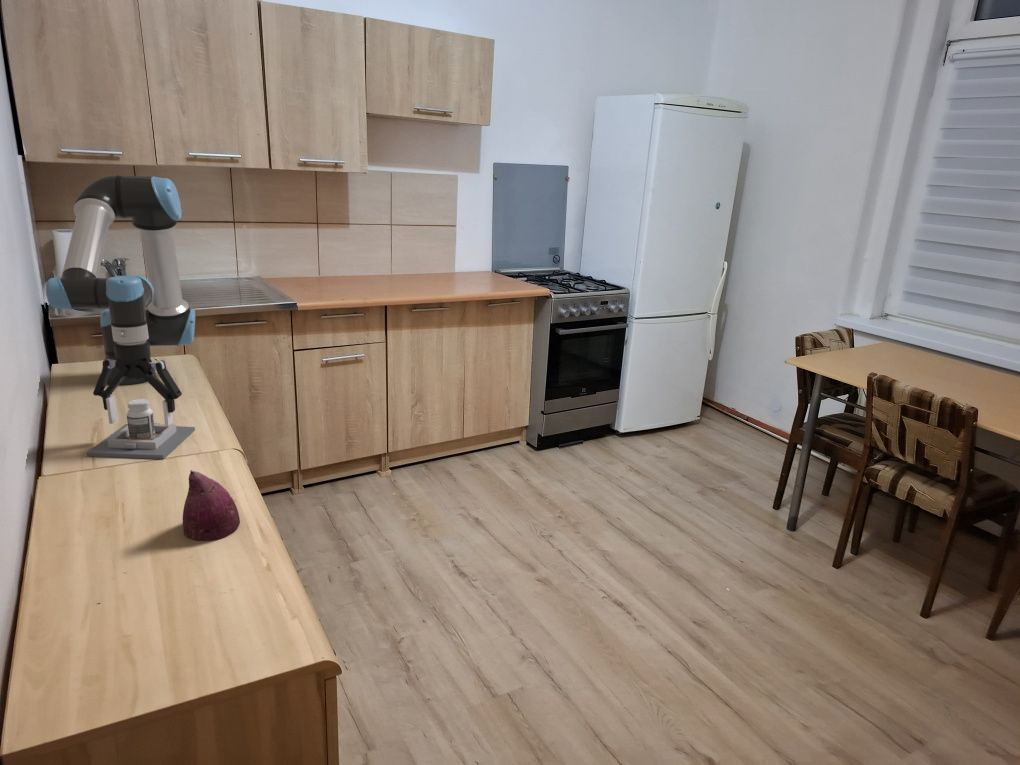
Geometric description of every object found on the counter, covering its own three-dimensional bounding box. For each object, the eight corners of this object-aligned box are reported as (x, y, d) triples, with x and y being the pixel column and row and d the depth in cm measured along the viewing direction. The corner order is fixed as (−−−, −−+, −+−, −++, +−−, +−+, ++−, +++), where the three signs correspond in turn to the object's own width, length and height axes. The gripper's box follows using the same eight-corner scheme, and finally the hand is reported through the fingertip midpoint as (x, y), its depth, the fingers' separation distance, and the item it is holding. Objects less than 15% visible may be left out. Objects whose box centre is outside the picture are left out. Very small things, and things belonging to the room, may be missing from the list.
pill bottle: (138, 433, 170) (134, 397, 167) (160, 435, 170) (156, 399, 167) (124, 442, 165) (120, 404, 162) (146, 444, 165) (142, 407, 162)
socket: (125, 427, 176) (124, 417, 175) (195, 430, 177) (194, 420, 176) (87, 456, 159) (85, 445, 158) (163, 459, 160) (162, 448, 159)
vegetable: (192, 559, 127) (164, 501, 119) (184, 527, 135) (157, 471, 127) (247, 535, 132) (223, 478, 124) (237, 506, 139) (213, 450, 131)
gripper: (68, 342, 155) (81, 426, 162) (177, 348, 157) (185, 430, 163) (87, 334, 162) (98, 415, 169) (190, 339, 164) (198, 419, 170)
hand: (141, 422), depth 166 cm, fingers open, 13 cm apart
